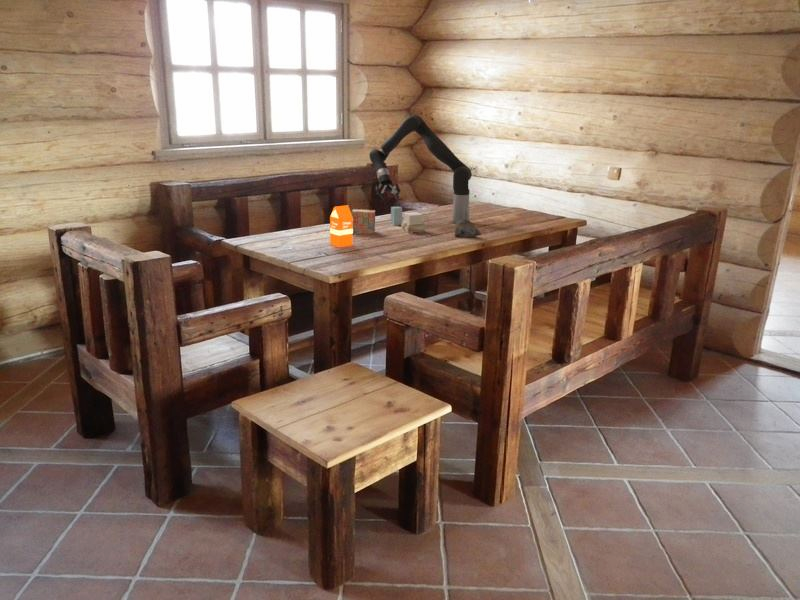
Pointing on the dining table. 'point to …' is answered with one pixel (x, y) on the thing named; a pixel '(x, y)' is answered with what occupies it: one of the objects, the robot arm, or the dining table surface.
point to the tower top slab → (413, 218)
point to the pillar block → (396, 215)
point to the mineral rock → (466, 229)
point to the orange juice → (341, 227)
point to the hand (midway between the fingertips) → (390, 199)
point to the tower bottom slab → (412, 227)
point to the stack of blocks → (363, 221)
